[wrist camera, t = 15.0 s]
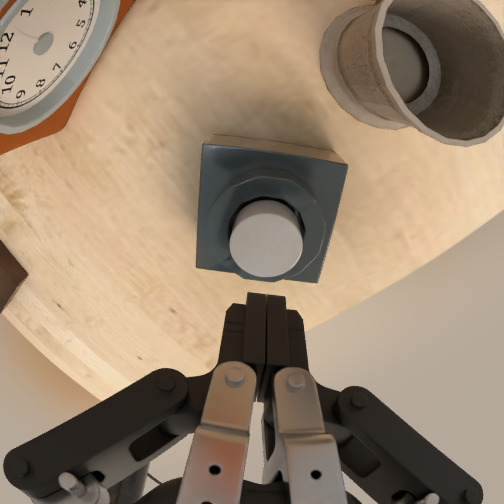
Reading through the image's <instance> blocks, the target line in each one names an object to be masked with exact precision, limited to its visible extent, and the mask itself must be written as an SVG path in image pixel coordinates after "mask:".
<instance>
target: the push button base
mask: <svg viewBox="0 0 504 504" xmlns="http://www.w3.org/2000/svg"><path fill="white" fill-rule="evenodd" d="M347 169H348V164H347V163H346V162H345V161H344V160H343V159H342V158H341V157H340V156H339V155H338V154H337V153H336V152H334V151H329V150H323V149H318V148H312V147H307V146H301V145H295V144H289V143H282V142H276V141H269V140H261V139H253V138H245V137H237V136H227V135H217V134H214V135H212V136H211V137H210V138H209V139H208V140H207V141H205V142H204V143H203V145H202V157H201V170H200V185H199V202H198V221H197V245H196V268H200V269H207V270H214V271H222V272H229V273H236V274H237V275H239V276H240V277H242V278H244V279H250V280H258V281H266V282H276V281H279V280H282V279H285V280H293V281H301V282H310V283H318V281H319V278H320V274H321V271H322V267H323V264H324V260H325V257H326V253H327V249H328V246H329V242H330V238H331V235H332V231H333V227H334V223H335V219H336V215H337V211H338V207H339V203H340V199H341V195H342V191H343V187H344V182H345V178H346V174H347ZM260 200H272V201H277V202H280V203H282V204H284V205H285V206H287V207H288V208H289V209H291V210H292V212H293V213H294V214H295V216H296V217H297V219H298V222H299V226H300V231H301V236H302V241H303V249H302V253H301V256H300V258H299V260H298V261H297V263H296V264H295V265H294V266H293V267H292V268H291V269H290V270H288V271H287V272H285V273H283V274H281V275H278V276H273V277H259V276H255V275H252V274H249V273H247V272H246V271H244V270H243V269H241V268H240V267H239V266H238V265H237V264H236V262H235V261H234V259H233V257H232V255H231V252H230V246H229V245H230V237H231V233H232V228H233V224H234V221H235V218H236V216H237V215H238V213H239V212H240V211H241V210H242V209H243V208H244V207H245V206H247V205H249V204H251V203H253V202H256V201H260Z"/></svg>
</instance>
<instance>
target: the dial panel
mask: <svg viewBox="0 0 504 504" xmlns="http://www.w3.org/2000/svg"><path fill="white" fill-rule="evenodd" d="M27 276H28V274H27V273H26V271H25V270H24V269H23V268H22V267H21V266H20V264H19V263H18V262H17V261H16V260H15V258H14V257H13V256H12V255H11V254H10V252H9V251H8V250H7V249H6V247H5V246H4V245H3V243H2V242H1V241H0V313H2V311H3V310H4V309H5V308H6V306H7V305H8V304H9V303H10V301H11V300H12V298H13V297H14V295H15V294H16V292H17V291H18V289H19V288H20V286H21V285H22V283H23V282H24V281H25V279H26V278H27Z"/></svg>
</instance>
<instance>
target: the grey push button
mask: <svg viewBox="0 0 504 504" xmlns="http://www.w3.org/2000/svg"><path fill="white" fill-rule="evenodd" d="M229 246H230V252H231V255H232V257H233V259H234V261H235V262H236V264H237V265H238V266H239V267H240V268H241V269H243V270H244V271H246V272H247V273H249V274H252V275H255V276H259V277H273V276H278V275H281V274H283V273H285V272H287V271H288V270H290V269H291V268H292V267H293V266H294V265H295V264H296V263H297V261H298V260H299V258H300V256H301V253H302V249H303V241H302V236H301V231H300V226H299V222H298V219H297V217H296V216H295V214H294V213H293V212H292V210H291V209H289V208H288V207H287V206H285V205H284V204H282V203H280V202H277V201H272V200H260V201H256V202H253V203H251V204H249V205H247V206H245V207H244V208H243V209H242V210H241V211H240V212H239V213H238V215H237V216H236V218H235V221H234V224H233V228H232V233H231V237H230V245H229Z"/></svg>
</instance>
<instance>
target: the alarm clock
mask: <svg viewBox="0 0 504 504" xmlns="http://www.w3.org/2000/svg"><path fill="white" fill-rule="evenodd" d="M134 1H135V0H0V155H2V154H4V153H6V152H8V151H11V150H13V149H15V148H18V147H20V146H23V145H25V144H28V143H30V142H33V141H35V140H38V139H41V138H43V137H46V136H49V135H51V134H54V133H57V132H58V131H60V130H61V129H62V128H63V127H64V126H65V124H66V123H67V121H68V119H69V116H70V114H71V112H72V110H73V107H74V105H75V103H76V101H77V99H78V96H79V94H80V92H81V90H82V88H83V86H84V84H85V82H86V80H87V78H88V76H89V74H90V72H91V70H92V69H93V67H94V65H95V63H96V61H97V59H98V58H99V56H100V55H101V53H102V51H103V49H104V47H105V45H106V44H107V42H108V40H109V39H110V37H111V36H112V34H113V32H114V31H115V29H116V28H117V26H118V25H119V23H120V22H121V20H122V19H123V17H124V16H125V14H126V13H127V11H128V10H129V8H130V7H131V6H132V4H133V3H134Z"/></svg>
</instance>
